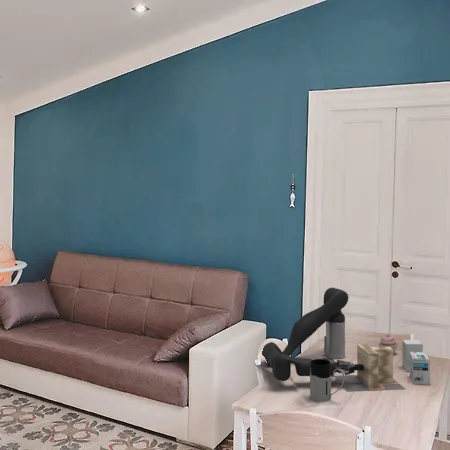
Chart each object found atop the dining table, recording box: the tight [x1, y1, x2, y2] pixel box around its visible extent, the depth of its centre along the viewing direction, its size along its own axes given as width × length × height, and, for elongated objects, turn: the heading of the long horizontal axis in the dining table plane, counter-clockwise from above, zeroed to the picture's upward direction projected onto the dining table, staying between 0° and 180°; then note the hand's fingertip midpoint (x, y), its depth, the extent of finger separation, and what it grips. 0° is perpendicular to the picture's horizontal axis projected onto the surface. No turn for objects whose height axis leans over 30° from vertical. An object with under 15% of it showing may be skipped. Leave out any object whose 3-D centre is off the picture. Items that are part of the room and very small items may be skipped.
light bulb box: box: [409, 351, 431, 386], centre depth 224 cm, size 11×7×11 cm, turn 168°
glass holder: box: [309, 359, 345, 403], centre depth 201 cm, size 9×14×15 cm, turn 51°
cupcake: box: [378, 333, 399, 356], centre depth 263 cm, size 9×9×10 cm
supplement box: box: [401, 339, 424, 373], centre depth 238 cm, size 7×7×13 cm
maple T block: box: [356, 343, 394, 388], centre depth 219 cm, size 12×14×14 cm
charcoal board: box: [334, 374, 406, 393], centre depth 219 cm, size 24×19×1 cm
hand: (363, 367), depth 218 cm, fingers closed
